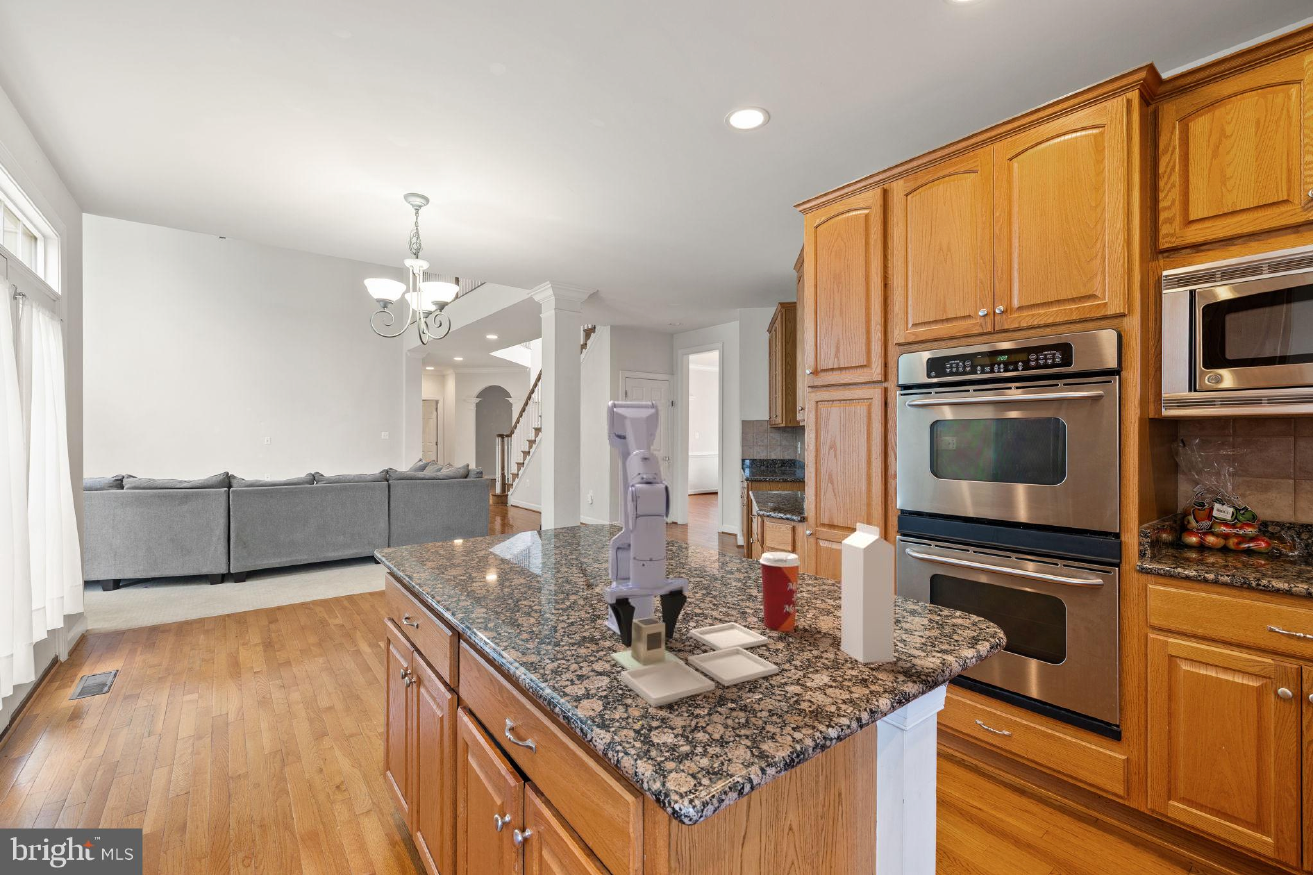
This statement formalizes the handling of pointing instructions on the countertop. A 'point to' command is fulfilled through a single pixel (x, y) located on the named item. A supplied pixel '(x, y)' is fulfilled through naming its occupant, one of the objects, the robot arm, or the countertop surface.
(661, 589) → the robot arm
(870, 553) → the milk
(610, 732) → the countertop surface
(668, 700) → the dish
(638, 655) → the letter block
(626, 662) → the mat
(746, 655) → the dish
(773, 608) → the paper cup
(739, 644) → the dish
